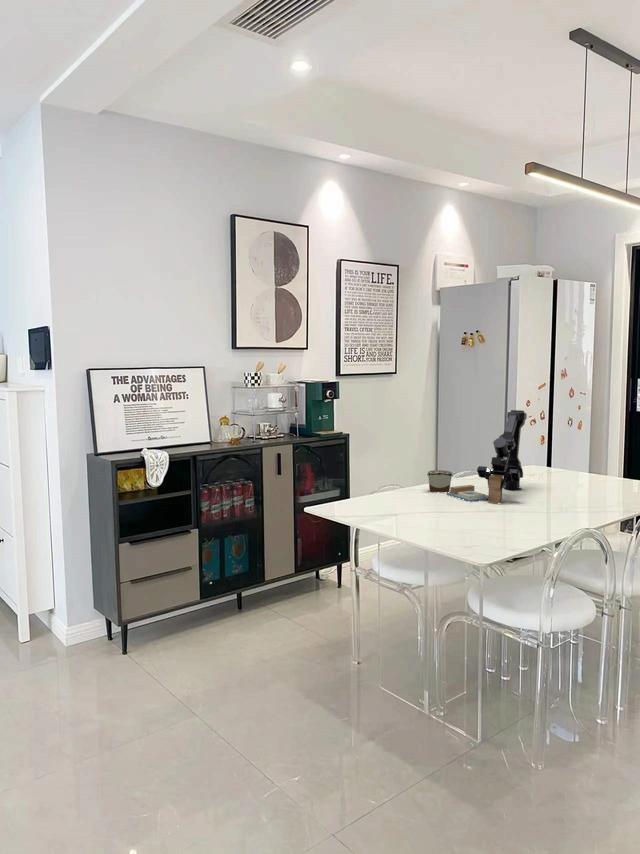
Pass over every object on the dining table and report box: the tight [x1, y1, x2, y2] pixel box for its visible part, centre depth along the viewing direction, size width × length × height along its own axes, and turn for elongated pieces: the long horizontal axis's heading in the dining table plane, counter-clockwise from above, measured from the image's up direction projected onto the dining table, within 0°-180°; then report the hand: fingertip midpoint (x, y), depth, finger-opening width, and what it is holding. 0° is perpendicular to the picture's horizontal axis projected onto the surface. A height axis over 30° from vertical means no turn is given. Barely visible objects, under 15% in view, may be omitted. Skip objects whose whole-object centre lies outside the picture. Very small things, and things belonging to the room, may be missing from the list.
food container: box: [427, 469, 453, 493], centre depth 334 cm, size 12×6×10 cm, turn 84°
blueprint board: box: [446, 484, 488, 502], centre depth 322 cm, size 14×17×4 cm
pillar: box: [487, 475, 503, 504], centre depth 310 cm, size 5×5×12 cm
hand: (494, 488), depth 309 cm, fingers closed on pillar, 5 cm apart
